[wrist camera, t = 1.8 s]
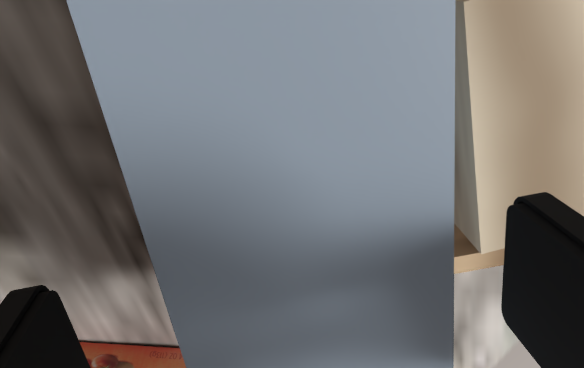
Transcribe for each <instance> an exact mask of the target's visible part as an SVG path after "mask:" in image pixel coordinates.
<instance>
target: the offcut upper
mask: <svg viewBox="0 0 584 368" xmlns="http://www.w3.org/2000/svg"><path fill="white" fill-rule="evenodd" d="M542 192H547V193H550V194H551V195H553V196H554V197H556V198H557V199H559V200H560V201H562V202H563V203H565V204H566V205H568V206H569V207H571V208H572V209H574V210H575V211H577V212H578V213H579V214H581V215H582V216H584V0H455V172H454V223H455V225H456V226H457V227H458V228H459V229H460V230H461V232H462V233H463V234H464V235H465V236H466V237H467V239H468V240H469V241H470V242H471V243H472V244H473V245H474V247H475V248H476V249H477V250H478V251H479V252H480V254H484V253H488V252H492V251H496V250H500V249H503V248H505V231H506V213H507V209H508V207H509V206H510V205H513V203H514V201H515V199H516V198H517V197H520V196H525V195H531V194H536V193H542Z"/></svg>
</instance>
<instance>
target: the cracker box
mask: <svg viewBox="0 0 584 368" xmlns="http://www.w3.org/2000/svg"><path fill="white" fill-rule="evenodd" d="M80 345H81V347H82V349H83V351H84V354H85V356H86V358H87V361H88V363H89V365H90V367H91V368H186V366H185V362H184V359H183V356H182V353H181V350H180V348H169V347H152V346H135V345H121V344H105V343H89V342H80Z"/></svg>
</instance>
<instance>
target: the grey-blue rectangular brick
mask: <svg viewBox="0 0 584 368" xmlns="http://www.w3.org/2000/svg"><path fill="white" fill-rule="evenodd" d="M66 1H67V4H68V7H69V10H70V13H71V16H72V20H73V23H74V26H75V29H76V32H77V35H78V38H79V41H80V44H81V47H82V50H83V53H84V56H85V59H86V62H87V65H88V69H89V72H90V75H91V78H92V81H93V84H94V87H95V90H96V93H97V96H98V99H99V102H100V105H101V108H102V111H103V114H104V118H105V121H106V124H107V127H108V130H109V133H110V136H111V139H112V142H113V145H114V148H115V151H116V154H117V157H118V160H119V163H120V167H121V170H122V173H123V176H124V179H125V182H126V185H127V188H128V191H129V194H130V197H131V200H132V203H133V206H134V209H135V212H136V215H137V219H138V222H139V225H140V228H141V231H142V234H143V237H144V240H145V243H146V246H147V249H148V252H149V255H150V258H151V261H152V264H153V268H154V271H155V274H156V277H157V280H158V283H159V286H160V289H161V292H162V295H163V298H164V301H165V304H166V307H167V310H168V313H169V317H170V320H171V323H172V326H173V329H174V332H175V335H176V338H177V341H178V344H179V347H180V350H181V353H182V356H183V359H184V362H185V366H186V368H453V349H454V172H455V0H66Z"/></svg>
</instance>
